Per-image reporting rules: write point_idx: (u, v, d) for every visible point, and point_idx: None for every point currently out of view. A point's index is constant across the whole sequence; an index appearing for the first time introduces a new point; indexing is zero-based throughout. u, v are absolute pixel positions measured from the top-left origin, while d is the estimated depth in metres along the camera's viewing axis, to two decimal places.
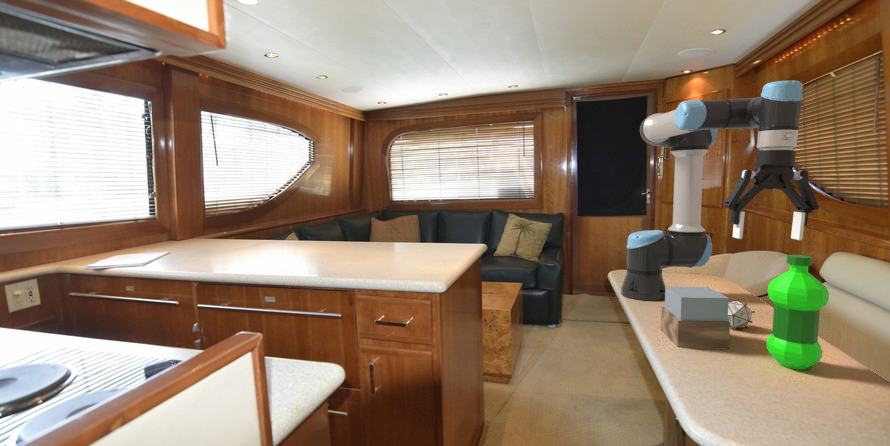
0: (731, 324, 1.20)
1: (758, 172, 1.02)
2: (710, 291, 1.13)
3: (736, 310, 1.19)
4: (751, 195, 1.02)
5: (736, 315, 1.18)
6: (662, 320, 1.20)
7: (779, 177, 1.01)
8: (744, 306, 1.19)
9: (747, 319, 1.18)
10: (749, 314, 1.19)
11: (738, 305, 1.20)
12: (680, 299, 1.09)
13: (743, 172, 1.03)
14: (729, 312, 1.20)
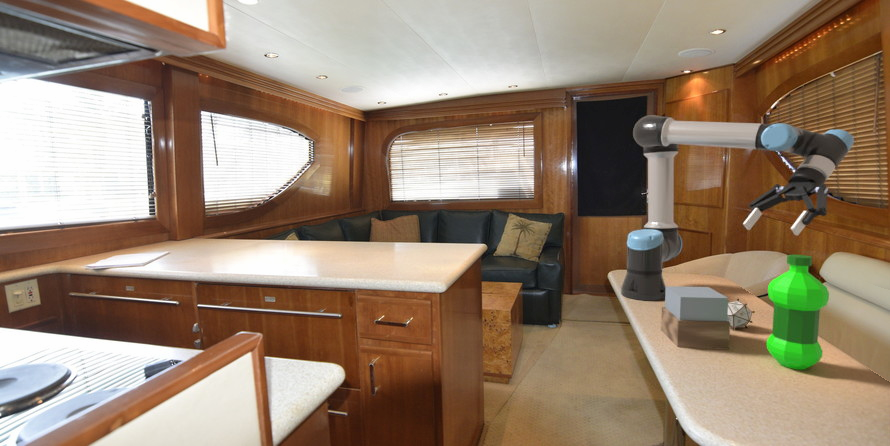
0: (731, 324, 1.20)
1: None
2: (710, 291, 1.13)
3: (736, 310, 1.19)
4: None
5: (736, 315, 1.18)
6: (662, 320, 1.20)
7: None
8: (744, 306, 1.19)
9: (747, 319, 1.18)
10: (749, 314, 1.19)
11: (738, 305, 1.20)
12: (679, 299, 1.09)
13: (827, 189, 1.17)
14: (729, 312, 1.20)
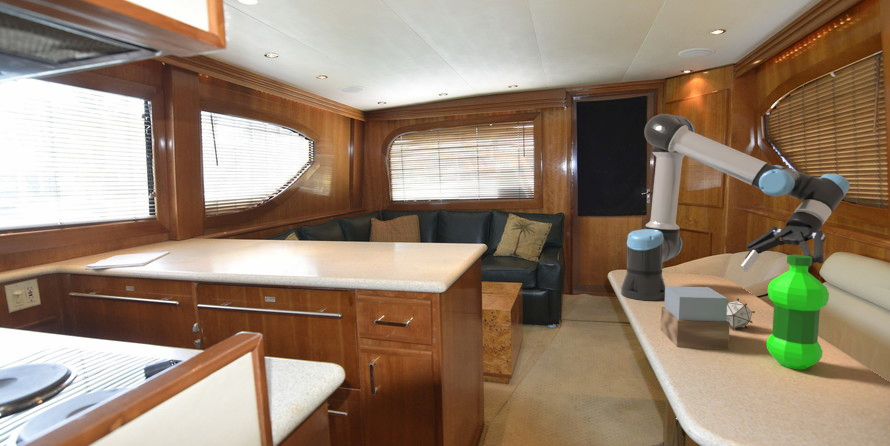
0: (731, 324, 1.20)
1: None
2: (709, 291, 1.13)
3: (736, 310, 1.19)
4: None
5: (736, 315, 1.18)
6: (662, 320, 1.20)
7: None
8: (744, 306, 1.19)
9: (747, 319, 1.18)
10: (749, 314, 1.19)
11: (738, 305, 1.20)
12: (678, 299, 1.09)
13: (824, 235, 1.19)
14: (729, 312, 1.20)
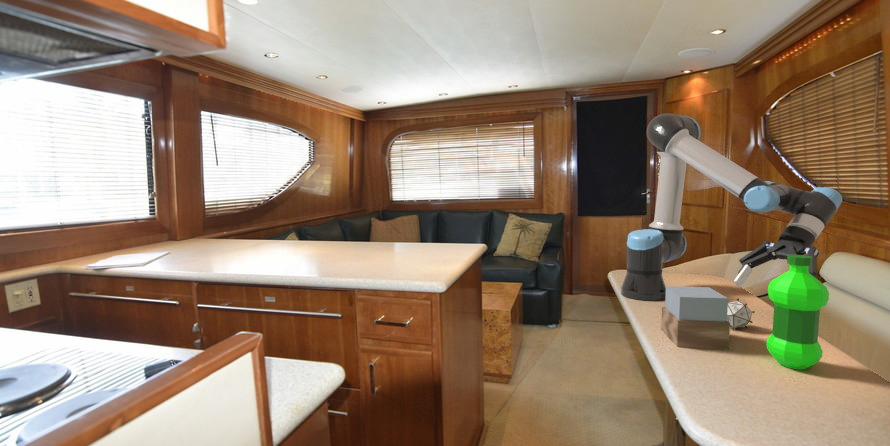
0: (731, 324, 1.20)
1: None
2: (710, 291, 1.13)
3: (736, 310, 1.19)
4: None
5: (736, 315, 1.18)
6: (662, 320, 1.20)
7: None
8: (744, 306, 1.19)
9: (747, 319, 1.18)
10: (749, 314, 1.19)
11: (738, 305, 1.20)
12: (679, 299, 1.09)
13: (817, 251, 1.17)
14: (729, 312, 1.20)
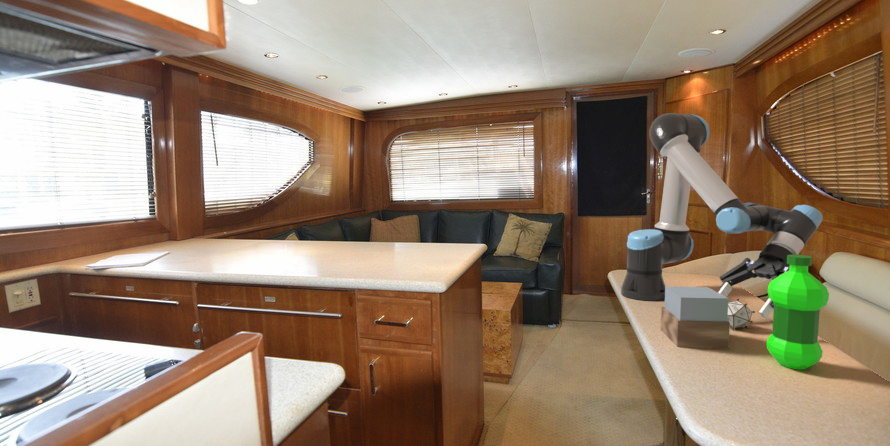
0: (731, 324, 1.20)
1: None
2: (710, 291, 1.13)
3: (736, 310, 1.19)
4: None
5: (736, 315, 1.18)
6: (662, 320, 1.20)
7: None
8: (744, 306, 1.19)
9: (747, 319, 1.18)
10: (749, 314, 1.19)
11: (738, 305, 1.20)
12: (680, 299, 1.09)
13: None
14: (729, 312, 1.20)
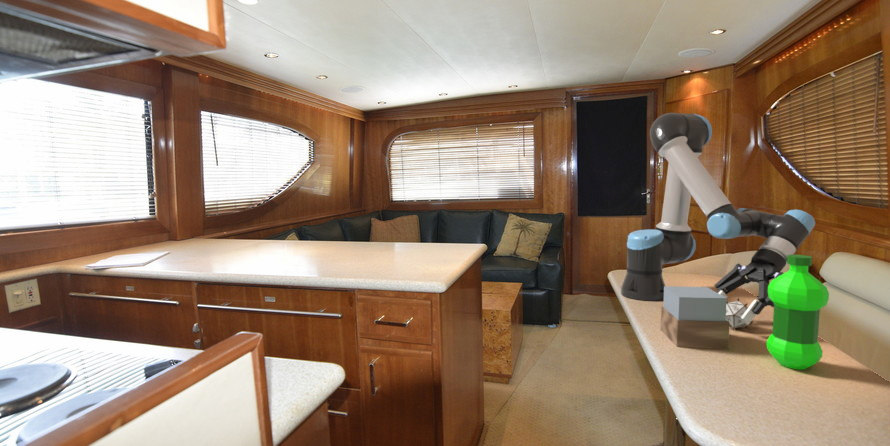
0: (731, 324, 1.20)
1: None
2: (708, 291, 1.13)
3: (736, 310, 1.19)
4: None
5: (736, 315, 1.18)
6: (662, 319, 1.20)
7: None
8: (744, 306, 1.19)
9: None
10: None
11: (738, 305, 1.19)
12: (678, 299, 1.09)
13: None
14: (729, 312, 1.20)
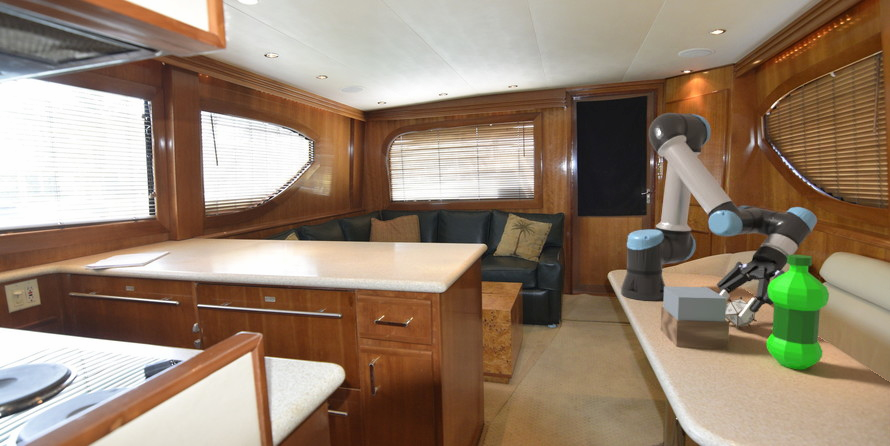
0: (735, 323, 1.19)
1: None
2: (708, 291, 1.13)
3: (740, 308, 1.18)
4: None
5: None
6: (662, 320, 1.20)
7: None
8: None
9: (752, 318, 1.17)
10: (753, 313, 1.18)
11: (742, 304, 1.19)
12: (677, 299, 1.09)
13: None
14: (733, 311, 1.19)
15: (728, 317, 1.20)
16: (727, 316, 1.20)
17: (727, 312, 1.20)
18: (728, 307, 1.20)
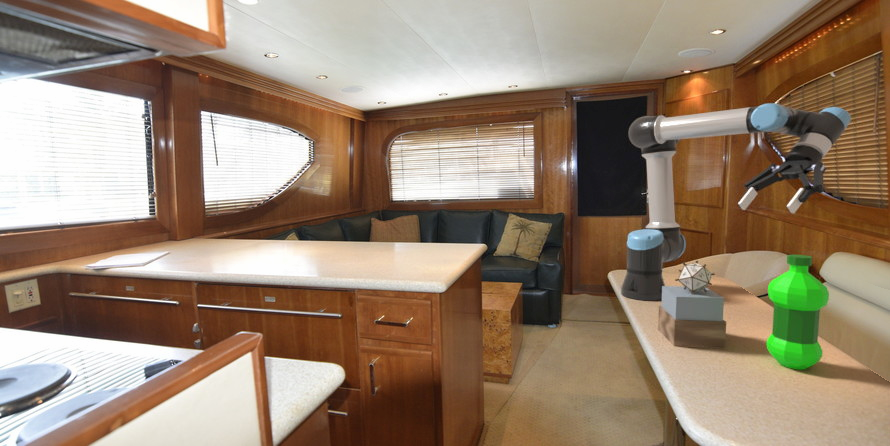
0: (690, 287, 1.11)
1: None
2: None
3: (695, 271, 1.10)
4: None
5: (695, 277, 1.09)
6: (659, 319, 1.21)
7: None
8: (703, 267, 1.10)
9: (707, 281, 1.09)
10: (708, 276, 1.10)
11: (697, 267, 1.11)
12: (675, 298, 1.10)
13: (824, 166, 1.15)
14: (687, 274, 1.11)
15: (683, 282, 1.12)
16: (682, 281, 1.12)
17: (682, 276, 1.12)
18: (683, 271, 1.13)
